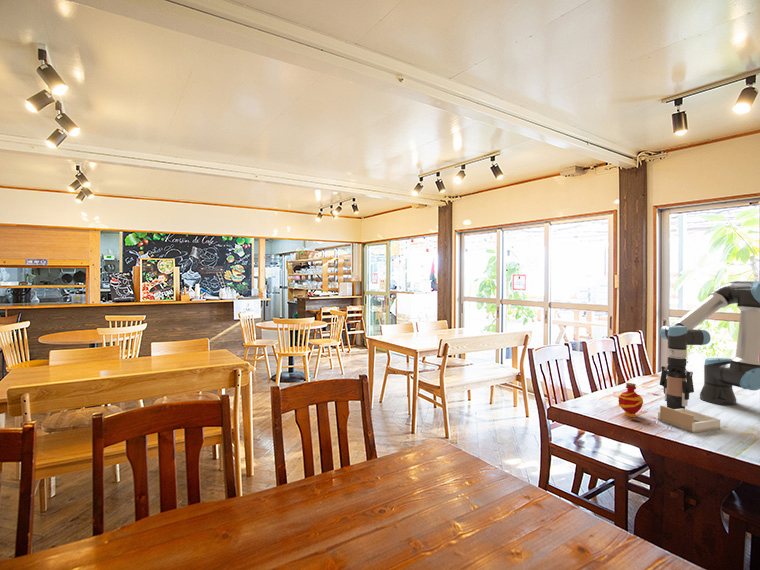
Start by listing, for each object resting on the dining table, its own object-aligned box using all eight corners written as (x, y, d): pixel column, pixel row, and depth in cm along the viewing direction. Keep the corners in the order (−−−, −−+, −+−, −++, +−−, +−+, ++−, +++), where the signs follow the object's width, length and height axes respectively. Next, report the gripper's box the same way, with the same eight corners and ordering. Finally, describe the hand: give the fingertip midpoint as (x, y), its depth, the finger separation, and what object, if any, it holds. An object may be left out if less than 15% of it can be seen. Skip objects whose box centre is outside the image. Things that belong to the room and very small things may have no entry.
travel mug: (688, 414, 193) (689, 373, 192) (671, 413, 194) (671, 372, 194) (680, 409, 200) (681, 370, 200) (663, 408, 202) (664, 369, 201)
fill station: (682, 416, 190) (682, 402, 190) (720, 428, 175) (720, 412, 175) (657, 420, 185) (658, 405, 185) (694, 433, 170) (694, 416, 170)
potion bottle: (635, 420, 185) (635, 388, 185) (613, 413, 194) (613, 382, 194) (648, 416, 190) (648, 385, 190) (626, 410, 199) (626, 380, 199)
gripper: (651, 353, 205) (650, 398, 206) (693, 361, 186) (692, 410, 186) (662, 353, 208) (661, 396, 208) (704, 361, 188) (703, 409, 189)
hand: (675, 403), depth 197 cm, fingers closed on travel mug, 8 cm apart
